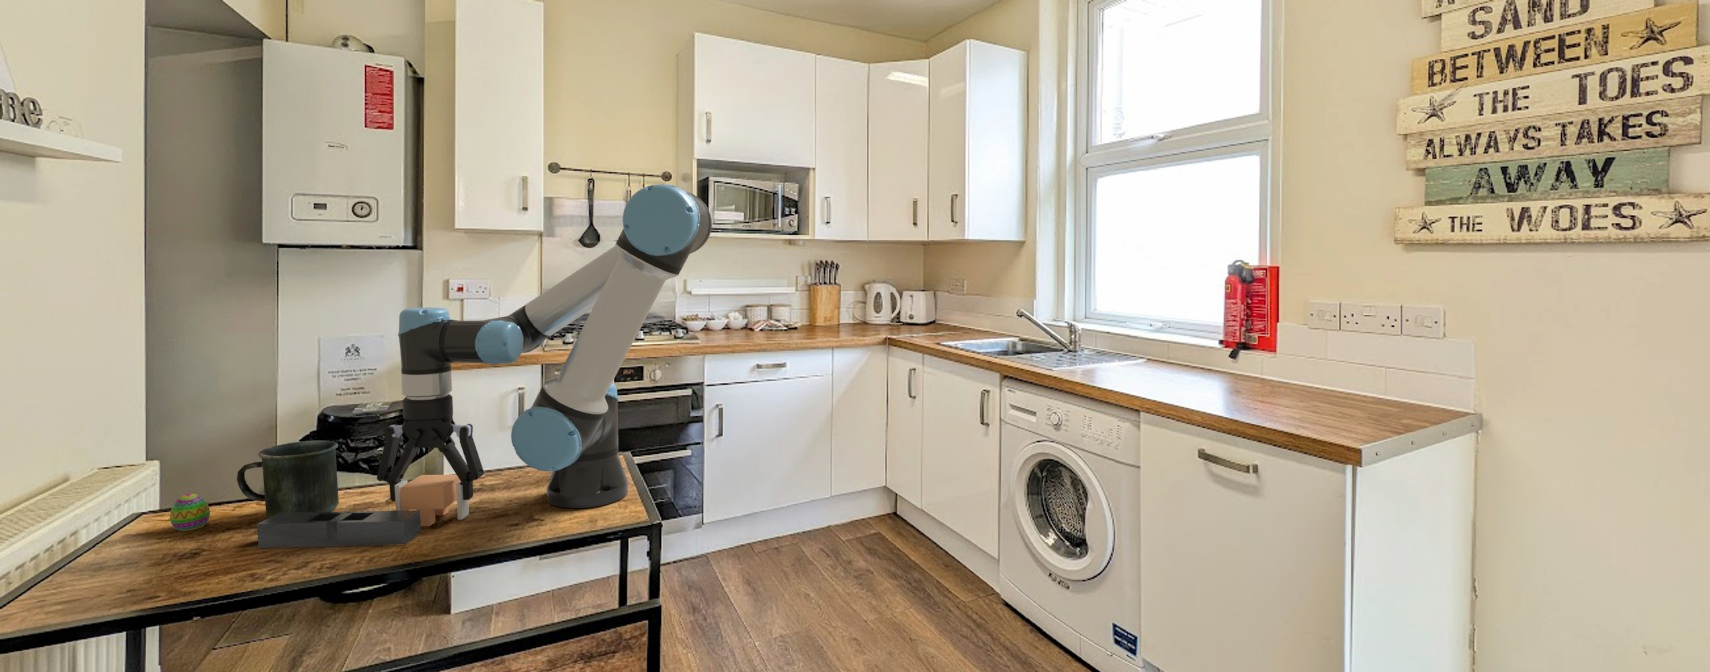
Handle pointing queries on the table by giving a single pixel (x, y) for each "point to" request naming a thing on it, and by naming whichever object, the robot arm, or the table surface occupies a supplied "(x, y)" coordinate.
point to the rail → (339, 529)
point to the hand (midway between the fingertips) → (433, 517)
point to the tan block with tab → (429, 496)
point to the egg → (189, 512)
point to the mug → (296, 477)
